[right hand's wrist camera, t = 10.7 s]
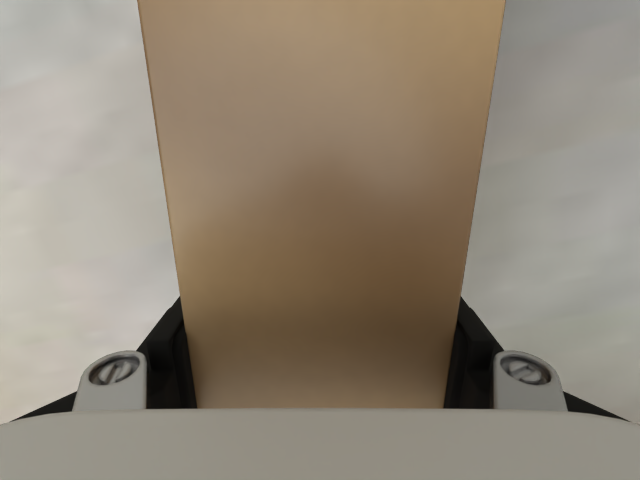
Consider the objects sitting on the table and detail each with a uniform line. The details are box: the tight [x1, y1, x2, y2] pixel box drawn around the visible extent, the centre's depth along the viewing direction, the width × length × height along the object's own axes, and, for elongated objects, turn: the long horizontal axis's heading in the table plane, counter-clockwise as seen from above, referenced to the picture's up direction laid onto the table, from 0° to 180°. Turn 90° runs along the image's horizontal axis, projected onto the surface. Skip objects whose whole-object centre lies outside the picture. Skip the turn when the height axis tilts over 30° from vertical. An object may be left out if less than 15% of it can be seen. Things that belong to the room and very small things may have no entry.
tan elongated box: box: [137, 0, 506, 409], centre depth 12 cm, size 20×6×11 cm, turn 0°
